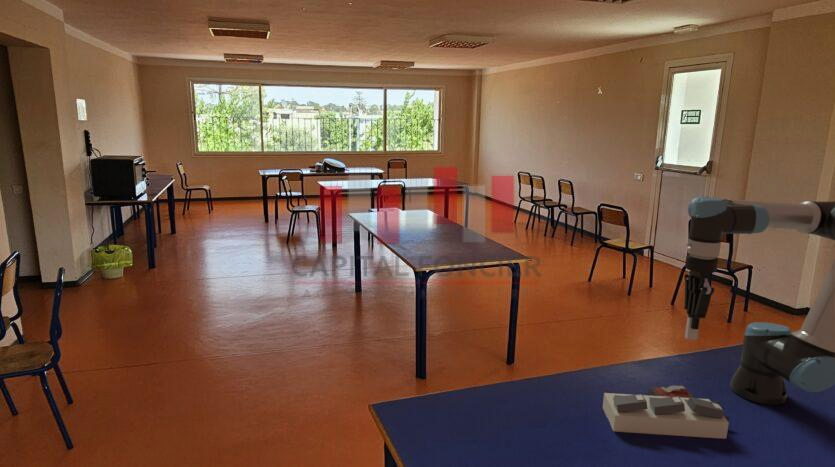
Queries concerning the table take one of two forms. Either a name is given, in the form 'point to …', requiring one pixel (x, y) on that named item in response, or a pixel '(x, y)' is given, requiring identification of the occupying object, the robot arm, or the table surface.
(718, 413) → the block
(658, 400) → the rocker
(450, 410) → the table surface
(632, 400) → the rocker
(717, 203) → the robot arm
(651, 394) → the walkie-talkie
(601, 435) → the table surface
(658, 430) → the power strip
